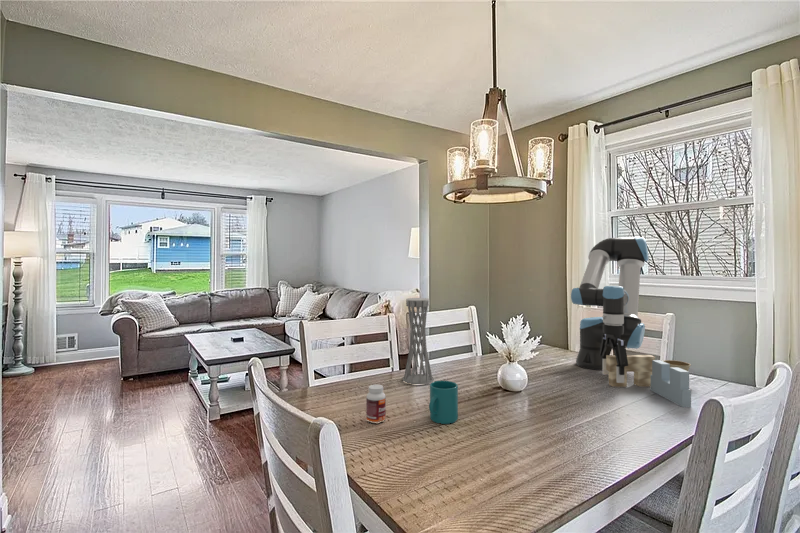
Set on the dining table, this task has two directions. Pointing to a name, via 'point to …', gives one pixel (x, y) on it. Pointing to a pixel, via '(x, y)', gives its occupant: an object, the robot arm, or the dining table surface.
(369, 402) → the pill bottle
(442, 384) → the cup
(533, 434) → the dining table surface
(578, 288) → the robot arm
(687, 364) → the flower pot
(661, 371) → the slate board
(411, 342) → the vase
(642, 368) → the maple board
